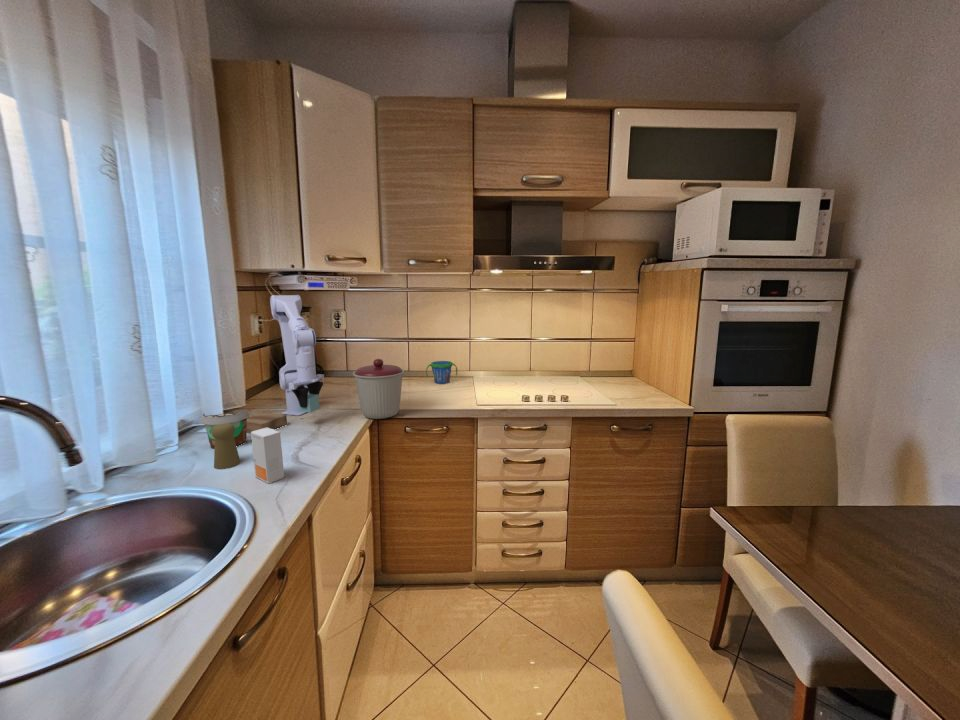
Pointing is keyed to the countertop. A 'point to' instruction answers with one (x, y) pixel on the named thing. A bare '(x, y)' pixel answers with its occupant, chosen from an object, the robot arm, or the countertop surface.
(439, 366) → the snack cup
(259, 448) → the skincare box
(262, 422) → the walnut block
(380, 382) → the canister
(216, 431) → the cork
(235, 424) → the food container
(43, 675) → the countertop surface
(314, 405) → the teal block
